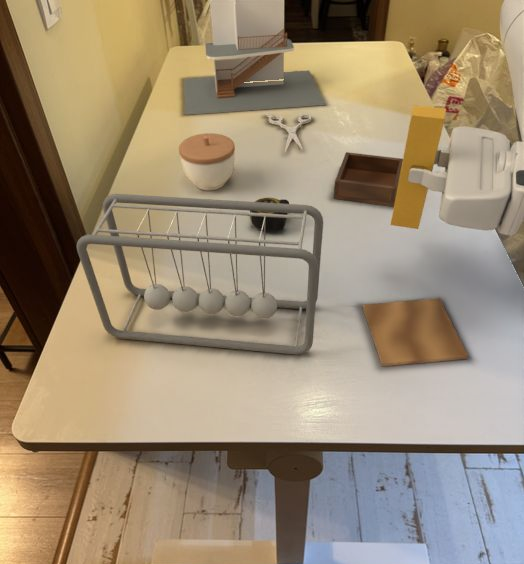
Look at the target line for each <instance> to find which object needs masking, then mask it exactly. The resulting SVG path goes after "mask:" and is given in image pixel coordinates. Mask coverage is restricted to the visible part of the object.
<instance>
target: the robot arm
mask: <svg viewBox="0 0 524 564" xmlns="http://www.w3.org/2000/svg"><path fill="white" fill-rule="evenodd" d="M499 36H500V41H501V46H502V50H503V53H504V56H505V59H506V63H507V68H508V71H509V76H510V77H509V78H510V83H511V88H512V89H511V90H512V96H513V97H512V98H513V104H514V113H515V123H516V124H515V125H516V132H517V137H518V141H515V142H511V140H510V139H508V137H507V136H506V135H505V134H504V133H502V132H498V131H495V130H491V129H484V128H480V127H472V126H465V125H461V126H456V127H453V128H452V131H451V135H450V138H449V142H448V146H447V147H438V149H437V153H436V157H435V162H434V165H436V166H437V167H439V168H444V171H441V170H438V171H437V172H434V171H433V170H432V171H429V170H426V169H424V167H425V166H417V165H412V166H411V168H410V172H409V176H408V181H409V182H411V183H418V184H421V185H423V186H425V187H427V188H428V190H430V191H433V192H437V193H441V197H440V198H441V199H440V205H439V214H438V219H439V220H441V221H443V222H444V223H446V224H448V225H450V226H453V227H460V228H465V229H471V230H480V231H493V230H495V229H497V232H498V234H501V235H503V236H515V235H516V234H517V233H518V231H519V229H520V227H521V226H522V224H523V222H524V0H503V2H502V5H501V7H500V12H499Z"/></svg>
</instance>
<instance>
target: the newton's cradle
mask: <svg viewBox="0 0 524 564" xmlns="http://www.w3.org/2000/svg"><path fill="white" fill-rule="evenodd" d="M131 204H135V205H131ZM147 205H148V206H147ZM149 205H150V206H149ZM164 206H165V207H164ZM183 207H184V208H183ZM114 208H117V209H118V208H119V209H132V210H147V211H146V213H145V214H144V216H143V218H142V220H141V222H140V224H139V226H138V228H137V230H123V229H118V227H117V224H116V219H115V215H114V213H113V209H114ZM197 208H199V209H197ZM200 208H201V209H200ZM216 209H218V210H216ZM102 210H103V215H104V216H103V217H102V219H101V221H99V223H98V225H97V227H96V228H95V230H94V231H93V233H92V234H85V235H83V236H81V237H80V238H79V239H78V240H77V243H76V251H77V255H78V257H79V260H80V263H81V266H82V268H83V271H84V274H85V275H84V276H85V277H86V280H87V284H88V286H89V290H90V291H91V294H92V297H93V300H94V303H95V306H96V309H97V312H98V315H99V317H100V320H101V323H102V326H103V328H104V330H105V331H106V333H108V334H109V335H111V336H112V337H114V338H117V339H123V340H134V341H144V342H154V343H155V342H156V343H167V344H177V345H188V346H200V347H211V348H219V349H220V348H221V349H231V350H232V349H233V350H244V351H255V352H265V353H274V354H275V353H277V354H288V355H302V354H305V353H307V352H309V351H310V350H311V349H312V348H313V343H314V333H315V332H314V331H315V317H316V305H317V301H318V298H319V297H318V296H319V286H320V285H319V284H320V283H319V282H320V272H321V271H320V270H321V268H320V267H321V259H322V246H323V233H324V231H323V230H324V217H323V215H322V213H321V211H320V210H319V209H318V208H316V207H315V206H312V205H309V204H297V203H296V204H294V203H289V204H280V203H264V202H255V201H246V200H245V201H244V200H229V199H211V198H195V197H193V198H192V197H178V196H159V195H146V194H145V195H144V194H143V195H141V194H125V193H112V194H110V195H107V196H106V197H105V198H104V200H103V203H102ZM150 210H151V211H164V212H165V211H166V212H168V211H169V212H175V214H174V216H173V218H172V220H171V223H170V225H169V227H168V230H167V232H153V231H152V226H151V216H150ZM229 210H230V211H229ZM247 211H249V212H247ZM250 211H264V212H280V213H288V215H281V214H265V213H250ZM178 212H183V213H198V214H199V213H200V214H204V216H203V219H202V221H201V224H200V226H199V230H198V232H197V234H183V233H180V224H179V222H180V221H179V213H178ZM207 214H215V215H229V216H230V215H231V216H234V217H233V220H232V223H231V227H230V229H229V233H228V236H214V235H209V233H208V232H209V230H208V229H209V228H208V217H207V216H208V215H207ZM296 214H297V215H296ZM299 214H300V215H299ZM147 215H148V226H149V231H139V229H140V227H141V226H142V223H143V222H144V220H145V218H146V216H147ZM237 216H245V217H246V216H247V217H250V216H261V217H264V222H263V225H264V230H261V229H260V230H261V231H260V234H259V238H242V237H237ZM307 216H310V217H312V218H313V220H314V227H313V242H312V252H310V251H309V250H307V249H304V248H303V242H304V236H305V235H304V234H305V230H306V229H305V228H306V223H307ZM266 217H278V218H286V219H296V220H297V219H298V220H302V221H301V228H300V235H299V241H289V240H275V239H274V240H272V239H266V231H265V219H266ZM175 218H176V223H177V233H169V231H170V229H171V227H172V224H173V222H174V220H175ZM204 220H205V231H206V232H205V233H206V235H199V233H200V231H201V228H202V226H203V223H204ZM105 222H106V225H107V228H102V227H103V225H104V223H105ZM233 225H234V234H235V235H234V237H230V235H231V232H232V229H233ZM262 229H263V226H262ZM98 233H106V234H107V233H109V234H110V235H106V234H98ZM262 233H263V239H261V236H262ZM119 234H121V235H122V234H123V235H137V237H134V236H120V235H119ZM140 236H149V238H147V237H140ZM152 236H153V237H166V238H167V239H161V238H153V237H152ZM170 238H178V239H170ZM181 239H195V240H196V239H197V241H193V240H181ZM200 240H206V241H200ZM210 240H212V241H226V242H227V243H221V242H209V241H210ZM230 242H234V243H230ZM237 242H240V243H255V244H256V243H257V244H258V245H252V244H238V243H237ZM261 244H263V245H261ZM266 244H271V245H284V246H286V245H287V246H298V248H294V247H281V246H277V247H276V246H266ZM88 245H101V246H102V245H103V246H113V249H114V252H115V256H116V261H117V263H118V267H119V271H120V274H121V277H122V281H123V284H124V287H125V288H126V290H127V291H128V292H129V293H130V294H132V295H135V296H137V297H136V300H135V302H134V304H133V306H132V309H131V311H130V313H129V315H128V317H127V319H126V321H125V324H124V326H123V328H122V330H120V329H119V328H118V329H117V328H116V327H114V325H112V322H111V319H110V315H109V313H108V310H107V306H106V304H105V301H104V298H103V294H102V292H101V288H100V286H99V285H100V284H99V282H98V280H97V277H96V274H95V271H94V267H93V265H92V262H91V257H90V255H89V252H88V250H87V246H88ZM123 247H130V248H141V252H142V255H143V258H144V261H145V264H146V266H147V271H148V274H149V277H150V280H151V283H152V284H151V285H149V286H148V287H147V288H146V289H144V288H138V287H136V286H135V285H134V284H133V282H132V279H131V276H130V272H129V267H128V264H127V261H126V256H125V253H124V249H123ZM143 248H145V249H146V248H147V249H151V256H152V266H153V276H154V280H153V277H152V274H151V271H150V268H149V264H148V261H147V257H146V254H145V250H144V249H143ZM154 249H159V250H170V251H171V255H172V259H173V263H174V266H175V270H176V273H177V277H178V281H179V283H180V287H178V288H176V289H175V290H174V291H171V290H169V289H168V288H167V287H166V286H165V285H163V284H159V283H157V277H156V275H157V274H156V267H155V257H154ZM173 251H179V253H180V255H179V256H180V265H181V271H182V272H181V273H182V275H181V276H182V279H181V277H180V274H179V270H178V266H177V262H176V259H175V255H174V252H173ZM182 251H184V252H185V251H186V252H187V251H188V252H199V253H200V257H201V262H202V267H203V270H204V276H205V281H206V285H207V288H206V289H204V290H203V291H201V293H197V291H196V290H195V289H194V288H192V287H190V286H187V285H185V274H184V265H183V253H182ZM202 253H207V262H208V263H207V264H208V276H207V272H206V267H205V262H204V257H203V254H202ZM210 253H215V254H229V258H230V264H231V272H232V277H233V278H232V279H233V285H234V290H232V291H231V292H229V293H228V294H227V295H223V292H221V291H220V290H218V289H216V288H212V282H211V281H212V279H211V265H210V264H211V263H210ZM232 255H235V271H234V264H233V258H232ZM238 255H242V256H243V255H244V256H255V257H256V256H257V257H258V256H259V264H260V276H261V277H260V278H261V289H262V292H259V293H257V294H255V296H253V297H250V296H249V295H248V294H247V293H246V292H244V291H243V290H239V286H238V284H239V283H238V282H239V281H238V280H239V279H238V278H239V277H238ZM262 257H263V261H262ZM266 257H271V258H286V259H300V260H303V261H305V262H306V263H307V265H308V276H307V293H306V296H307V297H306V300H305V301H300V300H299V301H298V300H284V299H276V298H275V296H274V295H273V294H271V293H269V292H266ZM262 262H263V264H262ZM235 275H236V276H235ZM208 278H209V279H208ZM208 280H209V281H208ZM182 282H183V284H182ZM141 297H143V300H144V303H145V304H146V306H147V307H148V308H150V309H152V310H156V311H159V310H163V309H165V308H166V307H167V306H168V305H169V304H170V300H171V299H172V304H173V306H174V307H175V309H176V310H178V311H179V312H182V313H190V312H193V311H194V310H195V309H196V308H197V306H199V309H200V310H201V311H202V312H203V313H205V314H206V315H216V314H218V313H220V312H221V311H222V310H223V308H225V310H226V312H227V313H228V314H229V315H230V316H232V317H237V318H238V317H243V316H245V315H247V313H248V312H249V311H250V309H251V312H252V313H253V315H254V316H255V317H256V318H259V319H261V320H267V319H270V318H272V317H273V316H274V315H275V314H276V312H277V310H278V308H280V309H281V308H282V309H283V308H284V309H293V310H294V309H296V310H299V311H298V317H297V318H298V319H297V323H296V324H297V326H296V331H295V340H294V345H286V344H285V345H284V344H276V343H275V344H273V343H262V342H251V341H241V340H231V339H230V340H229V339H219V338H218V339H217V338H207V337H196V336H186V335H185V336H184V335H173V334H161V333H150V332H141V331H129V330H128V331H127V328H128V326H129V324H130V321H131V319H132V316H133V315H134V312H135V310H136V308H137V306H138V304H139V301H140V299H141ZM303 310H306V311H305V328H304V343H303V344H302V345H298V343H299V338H300V337H299V336H300V328H301V321H302V314H303V313H302V312H303Z"/></svg>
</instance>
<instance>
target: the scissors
mask: <svg viewBox="0 0 524 564" xmlns="http://www.w3.org/2000/svg"><path fill="white" fill-rule="evenodd" d="M265 117H267V118H268V122H269V123H270V124H272V125H276V126H279V127H280V128H281V129H284V130H286V133H288V136H287V138H286V144H285V147H284V153H286V152H287V151H288V147H289V146H290V144H291V142H292V140H294V142H295V143H296V144H297V146H298V147H299V148H300V150H302V151H304V148H303V147H302V144H301V142H300V140H299V137H298V135H297V131H298V129H300V128H301V127H302V125H305V124H309V123H310V122H311V121H312V115H310V114H308V113H303V114H300V115H299V116H298V117H297V122H298V123H297V124H296V125H293V126H292V127H290V126H289V125H286V124H284V123H283V122H284V118H283V117H282V116H280V115H276V114H275V115H273V114H270V112H266V113H265Z"/></svg>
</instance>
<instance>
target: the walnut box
mask: <svg viewBox="0 0 524 564" xmlns="http://www.w3.org/2000/svg"><path fill="white" fill-rule="evenodd" d="M402 162H403V158H402V157H401V158H400V157H391V156H382V155H373V154H365V153H357V152H349V151H348V152H347V151H346V152H345V153H344V156H343V159H342V162H341V165H340V166H339V169H338V173H337V175H336V177H335V180H334V189H333V200H340V201H348V202H355V203H363V204H369V205H377V206H383V207H384V206H386V207H391V208H394V204H395V199H396V193H397V188H398V183H399V178H400V172H401V167H402Z"/></svg>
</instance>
